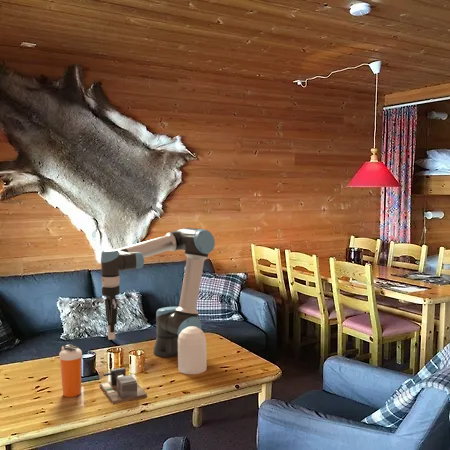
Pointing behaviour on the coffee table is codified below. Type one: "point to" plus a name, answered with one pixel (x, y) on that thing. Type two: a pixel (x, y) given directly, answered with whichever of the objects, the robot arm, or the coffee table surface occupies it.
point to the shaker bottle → (71, 370)
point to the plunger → (116, 374)
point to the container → (192, 351)
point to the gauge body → (123, 390)
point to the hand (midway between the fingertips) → (111, 338)
